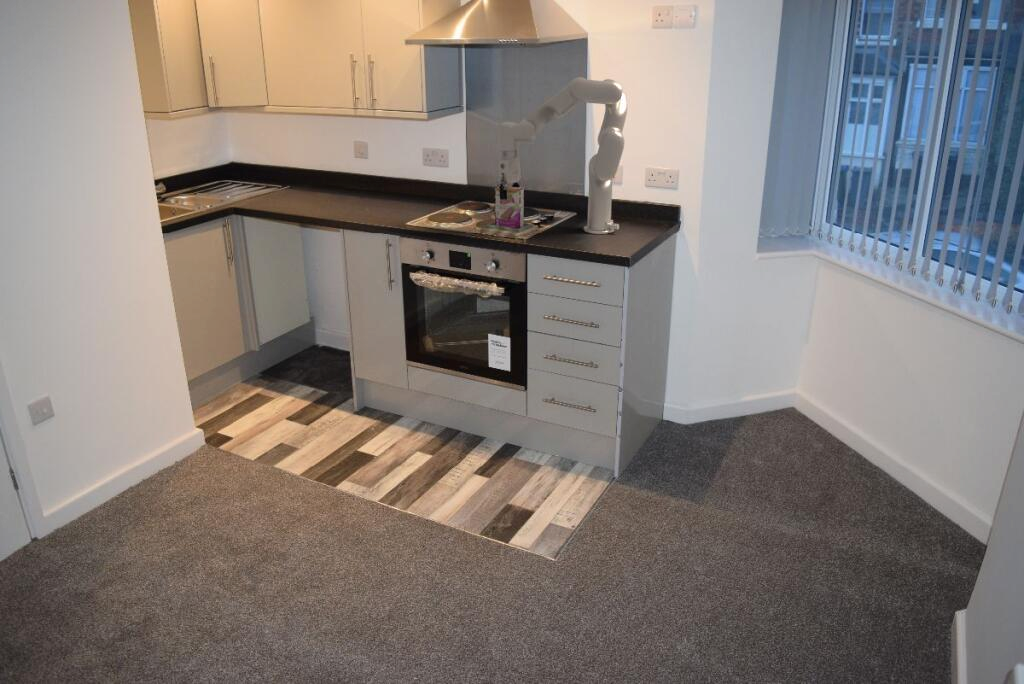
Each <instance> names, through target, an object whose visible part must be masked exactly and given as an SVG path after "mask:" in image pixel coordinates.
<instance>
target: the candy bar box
mask: <svg viewBox="0 0 1024 684" xmlns="http://www.w3.org/2000/svg"><path fill="white" fill-rule="evenodd" d="M506 190H507V199H506V200H504V199H500V190H499V187H498V186H496V187H495V188H494V221H495V225H496V226H502V227H509V228H516V229H520V228H522V227H523V225H524V223H525V222H524V217H525V216H524V211H525V210H524V209H525V207H524V205H525V202H524V201H525V200H524V198H525V195H524V193H525V191H524V190H525V188H524V187H520V188H519V187H512V186H507V187H506Z"/></svg>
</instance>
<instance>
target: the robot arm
mask: <svg viewBox="0 0 1024 684" xmlns="http://www.w3.org/2000/svg"><path fill="white" fill-rule="evenodd" d="M580 103H585V104H586V103H588V104H600V105H604V106H605V109H604V115H603V120H602V124H601V126H600V128H599V129H600V130H599V132H598V135H597V145H598V150H597V153H595V154H594V155H593V156H592V157H591V158H590V159H589V163H588V196H587V197H588V200H587V203H588V204H587V225H585V226H584V227H583V231H584V232H586V233H589V234H592V235H593V234H594V235H604V234H611V233H613V232H614V231H615V230H619V228H620V224H619V223H614V220H613V219H612V200H613V199H612V198H613V178H614V177H615V176H616V173H617V172H618V169H619V166H620V162H621V159H622V156H623V151H624V149H625V137H624V135H623V130H624V126H625V122H626V119H627V114H628V103H627V98H626V95H625V92H624V91H623V87H622V86H621V84H620V83H619V82H617V81H616V80H613V79H609V78H607V79H604V80H594V79H588V78H584V77H581V76H579V77H575V78H574V79H572V80H571V81H570V82H568V84H566V85H565V86H564V87H562V88H561V89H559V91H557V93H555V94H554V95H552V97H550V98H549V99H548V100H546V101H544V103H543V104H541V105H540V106H538V107H536V109H534V110H533V111H532V112H530V113H529V114H528V115H527V116H525V117H524V118H523V119H522V120H521V121H520V122H519V123H516V122H513V121H505V122H501V123H499V125H498V147H499V149H498V150H499V161H498V162H499V163H498V178H497V179H496V183H497V187H499V190H500V199H504V200H506V199H507V190H506V187H508V185H511V187H519V188H521V187H520V186H521V180H522V178H521V177H522V171H521V162H520V157H519V142H524V143H531V142H533V141H535V140H536V138H537V136H538V132H539V131H540V130H542V128H544V127H545V126H547V125H548V124H549V123H551V122H553V121H556V120H559V119H561V118H562V117H565V116H566V114H568V113H569V112H571V110H573V109H574V108H575V107H576V106H578V105H579V104H580Z"/></svg>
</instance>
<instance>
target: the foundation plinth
mask: <svg viewBox="0 0 1024 684" xmlns="http://www.w3.org/2000/svg"><path fill="white" fill-rule="evenodd" d="M536 230H538V231H539V225H535V224H533V223H526V222H524V225H523V227H522V228H520V229H516V228H509V227H502V226H496V225H495V220H493V221H491V222H488V223H486V224H484V227H481V228H479V232H480V233H485V234H490V235H489V236H491V235H496V236H495V237H498V236H503V237H502V238H504V237H510V238H516V239H515V240H518V239H517V238H519V237H522V236H524V235H526V236H528V235H530V234H529V233H531V234H533V233H535V232H537V231H536ZM534 231H535V232H534ZM532 232H533V233H532ZM480 233H479V234H480ZM485 234H484V235H485ZM527 234H528V235H527ZM524 237H525V236H524ZM510 238H509V239H510ZM522 238H523V237H522ZM519 239H520V238H519Z"/></svg>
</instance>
